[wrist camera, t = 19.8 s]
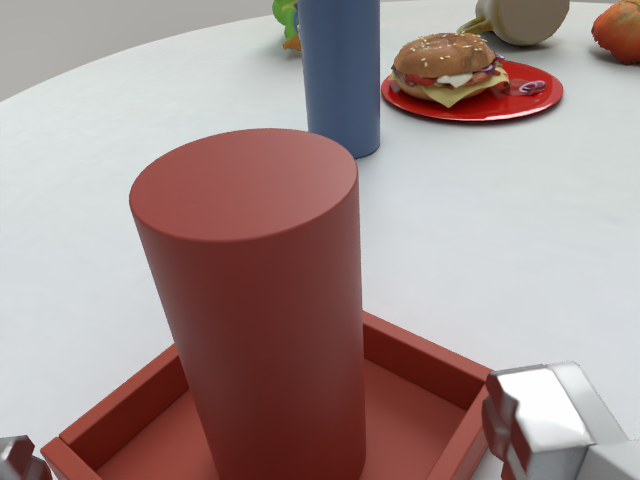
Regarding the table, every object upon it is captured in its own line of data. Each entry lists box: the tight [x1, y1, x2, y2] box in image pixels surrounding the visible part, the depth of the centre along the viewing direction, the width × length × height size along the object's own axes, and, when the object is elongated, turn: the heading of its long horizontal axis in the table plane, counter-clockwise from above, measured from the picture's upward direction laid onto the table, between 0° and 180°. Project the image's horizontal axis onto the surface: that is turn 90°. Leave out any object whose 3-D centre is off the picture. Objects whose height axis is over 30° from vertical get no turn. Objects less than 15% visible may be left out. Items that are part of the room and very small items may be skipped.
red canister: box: [129, 128, 366, 480], centre depth 14 cm, size 5×5×10 cm
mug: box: [456, 0, 569, 46], centre depth 51 cm, size 8×10×10 cm
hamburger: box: [381, 31, 563, 121], centre depth 41 cm, size 14×14×6 cm
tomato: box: [591, 0, 640, 65], centre depth 46 cm, size 8×7×7 cm
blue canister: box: [297, 0, 380, 159], centre depth 33 cm, size 5×5×10 cm
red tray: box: [40, 310, 494, 480], centre depth 17 cm, size 10×10×2 cm
